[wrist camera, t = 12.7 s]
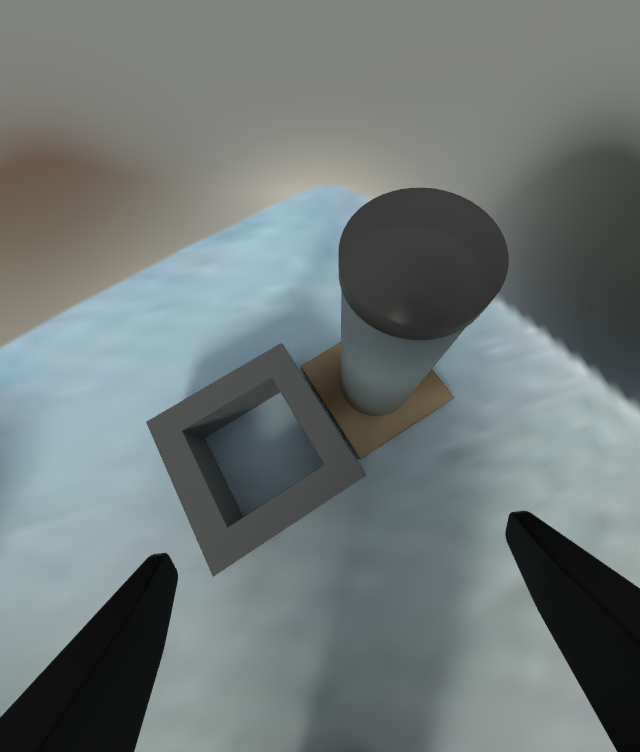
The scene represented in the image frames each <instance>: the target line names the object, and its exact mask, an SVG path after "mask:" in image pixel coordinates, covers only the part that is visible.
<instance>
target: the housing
mask: <svg viewBox="0 0 640 752" xmlns="http://www.w3.org/2000/svg"><path fill="white" fill-rule="evenodd" d="M279 392H281V393H282V395H283V397H284V398H285V400H286V402H287V403H288V405H289V407H290V408H291V410H292V412H293V413H294V415H295V417H296V418H297V420H298V422H299V423H300V425H301V427H302V428H303V430H304V432H305V433H306V435H307V437H308V438H309V440H310V442H311V443H312V445H313V447H314V448H315V450H316V452H317V453H318V455H319V457H320V458H321V460H322V462H323V463H324V466H322V467H321V468H319V469H318V470H316V471H315V472H313V473H312V474H310V475H308V476H307V477H305V478H304V479H302V480H301V481H299V482H298V483H296V484H295V485H293V486H291V487H290V488H288V489H287V490H285V491H284V492H282V493H281V494H279V495H278V496H276V497H274V498H273V499H271V500H270V501H268V502H267V503H265V504H264V505H262V506H261V507H259V508H257V509H256V510H254V511H253V512H251V513H250V514H248V515H247V516H245V517H244V518H243V516H242V514H241V512H240V510H239V508H238V505H237V503H236V501H235V499H234V497H233V495H232V493H231V491H230V489H229V487H228V485H227V483H226V481H225V479H224V477H223V475H222V473H221V471H220V469H219V467H218V464H217V462H216V460H215V458H214V456H213V454H212V452H211V450H210V448H209V446H208V444H207V442H206V440H205V437H207V436H208V435H210V434H211V433H213V432H215V431H216V430H218V429H220V428H221V427H223V426H225V425H226V424H228V423H230V422H231V421H233V420H235V419H236V418H238V417H240V416H241V415H243V414H245V413H246V412H248V411H250V410H251V409H253V408H255V407H256V406H258V405H260V404H261V403H263V402H264V401H266V400H268V399H269V398H271V397H273V396H274V395H276V394H278V393H279ZM146 423H147V425H148V427H149V430H150V432H151V434H152V437H153V439H154V441H155V443H156V446H157V448H158V450H159V453H160V455H161V457H162V460H163V462H164V464H165V467H166V469H167V471H168V474H169V476H170V478H171V481H172V483H173V485H174V488H175V490H176V492H177V494H178V497H179V499H180V501H181V504H182V506H183V508H184V511H185V513H186V515H187V518H188V520H189V522H190V525H191V527H192V529H193V532H194V534H195V536H196V539H197V541H198V543H199V545H200V548H201V550H202V552H203V555H204V557H205V559H206V562H207V564H208V566H209V569H210V571H211V573H212V576H215V575H216V574H218V573H219V572H221V571H222V570H224V569H225V568H227V567H228V566H230V565H231V564H233V563H234V562H236V561H237V560H239V559H240V558H242V557H243V556H245V555H246V554H248V553H249V552H251V551H252V550H254V549H255V548H257V547H258V546H260V545H261V544H263V543H264V542H266V541H268V540H269V539H271V538H272V537H274V536H275V535H277V534H278V533H280V532H281V531H283V530H284V529H286V528H287V527H289V526H290V525H292V524H293V523H295V522H296V521H298V520H299V519H301V518H302V517H304V516H305V515H307V514H308V513H310V512H311V511H313V510H314V509H316V508H317V507H319V506H320V505H322V504H323V503H325V502H326V501H328V500H329V499H331V498H332V497H334V496H335V495H337V494H338V493H340V492H341V491H343V490H344V489H346V488H347V487H349V486H350V485H352V484H353V483H355V482H356V481H358V480H359V479H361V478H362V477H364V476H365V475H366V474H365V473H364V471H363V469H362V468H361V466H360V465H359V463H358V462H357V460H356V459H355V457H354V455H353V454H352V452H351V451H350V449H349V448H348V446H347V444H346V443H345V441H344V440H343V438H342V437H341V435H340V433H339V432H338V430H337V429H336V427H335V426H334V424H333V422H332V421H331V419H330V418H329V416H328V415H327V413H326V412H325V410H324V408H323V407H322V405H321V404H320V402H319V401H318V399H317V397H316V396H315V394H314V393H313V391H312V390H311V388H310V386H309V385H308V383H307V382H306V380H305V379H304V377H303V375H302V374H301V372H300V371H299V369H298V368H297V366H296V365H295V363H294V361H293V360H292V358H291V357H290V355H289V354H288V352H287V350H286V349H285V347H284V346H283V344H282V343H281V344H279V345H277V346H276V347H274V348H272V349H270V350H269V351H267V352H265V353H264V354H262V355H260V356H258V357H257V358H255V359H253V360H252V361H250V362H248V363H246V364H245V365H243V366H241V367H240V368H238V369H236V370H234V371H233V372H231V373H229V374H228V375H226V376H224V377H222V378H221V379H219V380H217V381H216V382H214V383H212V384H210V385H209V386H207V387H205V388H204V389H202V390H200V391H198V392H197V393H195V394H193V395H192V396H190V397H188V398H186V399H185V400H183V401H181V402H180V403H178V404H176V405H174V406H173V407H171V408H169V409H168V410H166V411H164V412H162V413H161V414H159V415H157V416H156V417H154V418H152V419H150V420H149V421H147V422H146Z"/></svg>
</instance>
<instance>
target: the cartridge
mask: <svg viewBox="0 0 640 752" xmlns="http://www.w3.org/2000/svg"><path fill="white" fill-rule="evenodd" d="M507 270H508V250H507V245H506V242H505V239H504V237H503V235H502V233H501V231H500V229H499V227H498V226H497V224H496V223H495V222H494V220H493V219H492V218H491V217H490V216H489V215H488V214H487V213H486V212H485V211H484V210H482V209H481V208H480V207H479V206H477V205H476V204H474V203H472V202H471V201H469V200H467V199H465V198H463V197H461V196H459V195H456V194H454V193H450V192H447V191H443V190H438V189H432V188H409V189H400V190H397V191H392V192H389V193H386V194H383V195H381V196H379V197H377V198H374V199H373V200H371V201H370V202H368V203H366V204H365V205H364V206H362V207H361V208H360V209H359V210H358V211H357V212H356V213H355V214H354V215H353V216H352V217H351V219H350V220H349V222H348V223H347V225H346V227H345V229H344V230H343V233H342V236H341V239H340V244H339V281H340V286H341V290H342V301H341V388H342V392H343V395H344V397H345V399H346V400H347V402H348V403H349V404H350V405H351V406H352V407H353V408H354V409H356V410H357V411H359V412H361V413H363V414H366V415H370V416H384V415H388V414H390V413H392V412H394V411H396V410H397V409H399V408H400V407H401V406H402V405H403V403H404V402H405V401H406V400H407V399H408V397H409V396H410V395H411V394H412V392H413V391H414V390H415V389H416V388H417V386H418V385H419V384H420V383H421V381H422V380H423V379H424V378H425V377H426V375H427V374H428V373H429V372H430V370H431V369H432V368H433V367H434V365H435V364H436V363H437V362H438V361H439V359H440V358H441V357H442V356H443V354H444V353H445V352H446V351H447V350H448V348H449V347H450V346H451V345H452V343H453V342H454V341H455V340H456V339H457V337H458V336H459V335H460V334H461V332H462V331H463V330H464V329H465V328H466V327H467V326H468V325H470V324H471V323H472V322H473V321H474V320H475V319H476V318H477V317H478V316H479V315H480V314H481V313H482V312H483V311H484V310H485V308H486V307H487V306H488V305H489V304H490V302H491V301H492V300H493V299H494V298H495V296H496V295H497V293H498V292H499V291H500V289H501V287H502V285H503V283H504V281H505V278H506V275H507Z"/></svg>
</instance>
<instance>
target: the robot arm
mask: <svg viewBox="0 0 640 752" xmlns="http://www.w3.org/2000/svg"><path fill="white" fill-rule="evenodd" d="M505 535H506V540H507V543H508V545H509V548H510V550H511V552H512V554H513V556H514V559H515V561H516V563H517V565H518V568H519V570H520V572H521V574H522V576H523V579H524V581H525V583H526V585H527V588H528V590H529V592H530V594H531V597H532V599H533V601H534V603H535V605H536V607H537V609H538V611H539V613H540V615H541V616H542V618H543V620H544V622H545V624H546V625H547V627H548V629H549V631H550V633H551V634H552V636H553V638H554V640H555V642H556V643H557V645H558V647H559V649H560V650H561V652H562V654H563V656H564V658H565V659H566V661H567V663H568V665H569V666H570V668H571V670H572V672H573V674H574V675H575V677H576V679H577V681H578V683H579V684H580V686H581V688H582V690H583V691H584V693H585V695H586V697H587V699H588V700H589V702H590V704H591V706H592V707H593V709H594V711H595V713H596V715H597V716H598V718H599V720H600V722H601V724H602V725H603V727H604V729H605V731H606V732H607V734H608V736H609V738H610V740H611V741H612V743H613V745H614V747H615V749H616V750H617V752H640V588H638V587H637V586H636V585H634V584H633V583H631V582H630V581H628V580H627V579H625V578H624V577H623V576H621V575H620V574H618V573H617V572H615V571H614V570H612V569H611V568H610V567H608V566H607V565H605V564H604V563H602V562H601V561H599V560H598V559H597V558H595V557H594V556H592V555H591V554H589V553H588V552H586V551H585V550H584V549H582V548H581V547H579V546H578V545H576V544H575V543H573V542H572V541H571V540H569V539H568V538H566V537H565V536H563V535H562V534H560V533H559V532H558V531H556V530H555V529H553V528H552V527H550V526H549V525H547V524H546V523H545V522H543V521H542V520H540V519H539V518H537V517H536V516H534V515H533V514H532V513H530V512H528V511H517V512H511V513H510V514H509V518H508V522H507V527H506V533H505ZM177 581H178V573H177V570H176V568H175V566H174V564H173V562H172V560H171V558H170V556H169V555H168V554H167V553H160V554H153V555H151V556H149V557H148V558H147V559H146V560H145V561H144V562H143V563H142V564H141V566H140V567H139V568H138V569H137V570H136V571H135V572H134V573H133V574H132V575H131V576H130V578H129V579H128V580H127V581H126V582H125V583H124V584H123V585H122V586H121V587H120V588H119V589H118V591H117V592H116V593H115V594H114V595H113V596H112V597H111V598H110V599H109V600H108V601H107V602H106V604H105V605H104V606H103V607H102V608H101V609H100V610H99V611H98V612H97V613H96V614H95V615H94V617H93V618H92V619H91V620H90V621H89V622H88V623H87V624H86V625H85V626H84V627H83V628H82V630H81V631H80V632H79V633H78V634H77V635H76V636H75V637H74V638H73V639H72V640H71V641H70V643H69V644H68V645H67V646H66V647H65V648H64V649H63V650H62V651H61V652H60V653H59V655H58V656H57V657H56V658H55V659H54V660H53V661H52V662H51V663H50V664H49V665H48V666H47V668H46V669H45V670H44V671H43V672H42V673H41V674H40V675H39V676H38V677H37V678H36V679H35V681H34V682H33V683H32V684H31V685H30V686H29V687H28V688H27V689H26V690H25V691H24V692H23V694H22V695H21V696H20V697H19V698H18V699H17V700H16V701H15V702H14V703H13V704H12V705H11V707H10V708H9V709H8V710H7V711H6V712H5V713H4V714H3V715H2V716H1V717H0V752H134V750H135V747H136V743H137V740H138V737H139V733H140V730H141V726H142V723H143V719H144V716H145V713H146V709H147V706H148V702H149V699H150V695H151V692H152V689H153V685H154V682H155V678H156V675H157V671H158V668H159V665H160V661H161V658H162V654H163V650H164V646H165V641H166V637H167V632H168V627H169V622H170V617H171V612H172V607H173V602H174V597H175V592H176V587H177Z"/></svg>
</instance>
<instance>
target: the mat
mask: <svg viewBox="0 0 640 752" xmlns="http://www.w3.org/2000/svg"><path fill="white" fill-rule="evenodd" d="M301 368H302V370H303V371H304V373H305V374H306V376H307V377H308V379H309V381H310V382H311V384H312V385H313V387H314V388H315V390H316V391H317V393H318V395H319V396H320V398H321V399H322V401H323V402H324V404H325V405H326V407H327V409H328V410H329V412H330V413H331V415H332V416H333V418H334V419H335V421H336V423H337V424H338V426H339V427H340V429H341V430H342V432H343V433H344V435H345V437H346V438H347V440H348V441H349V443H350V444H351V446H352V448H353V449H354V451H355V452H356V454H357V455H358V457H359V458H360V459H361V458H363V457H364V456H366V455H367V454H369V453H370V452H372V451H373V450H375V449H376V448H378V447H379V446H381V445H382V444H384V443H385V442H387V441H389V440H390V439H392V438H393V437H395V436H396V435H398V434H399V433H401V432H402V431H404V430H405V429H407V428H408V427H410V426H411V425H413V424H414V423H416V422H418V421H419V420H421V419H422V418H424V417H425V416H427V415H428V414H430V413H431V412H433V411H434V410H436V409H437V408H439V407H440V406H442V405H444V404H445V403H447V402H448V401H450V400H451V399H453V398H454V396H453V395H452V394H451V392H450V391H449V390H448V389H447V387H446V386H445V385H444V384H443V382H442V381H441V380H440V378H439V377H438V376H437V375H436V373H435V372H434V371H433V370H432V369H431V370H430V372H429V373H428V374H427V375H426V377H425V378H424V379H423V380H422V381H421V383H420V384H419V385H418V386H417V388H416V389H415V390H414V391H413V392H412V394H411V395H410V396H409V397H408V399H407V400H406V401H405V402H404V403H403V405H402V406H401V407H400V408H399V409H397V410H396V411H394V412H392V413H390V414H388V415H384V416H370V415H366V414H363V413H361V412H359V411H357V410H356V409H354V408H353V407H352V406H351V405H350V404H349V403H348V402H347V400H346V399H345V397H344V395H343V392H342V388H341V342H340V343H339V344H337V345H335V346H334V347H332V348H330V349H329V350H327V351H325V352H324V353H322V354H320V355H319V356H317V357H315V358H314V359H312V360H310V361H308V362H307V363H305V364H303V365H302V366H301Z"/></svg>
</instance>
